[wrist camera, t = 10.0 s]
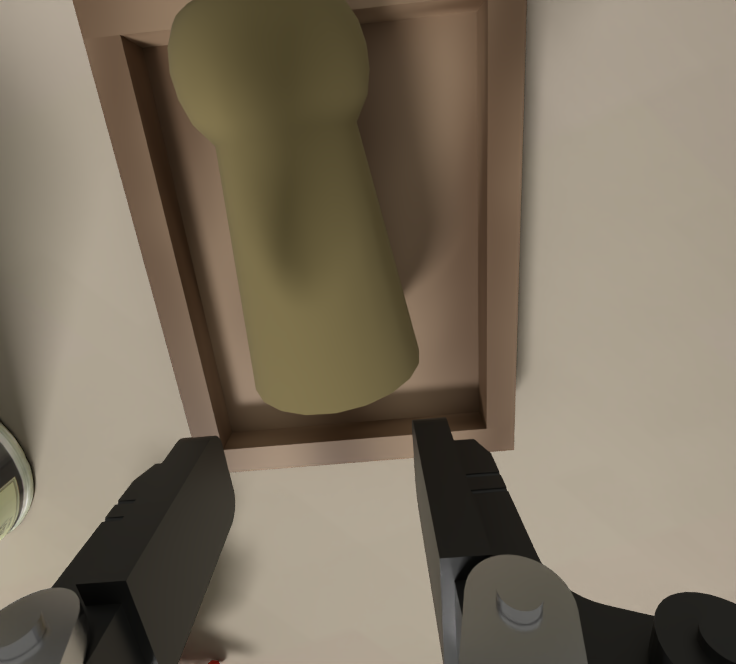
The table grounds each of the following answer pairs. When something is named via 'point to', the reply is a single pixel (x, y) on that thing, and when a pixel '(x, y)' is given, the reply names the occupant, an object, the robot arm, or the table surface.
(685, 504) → the table surface
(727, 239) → the table surface
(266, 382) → the cork
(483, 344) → the walnut tray
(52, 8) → the table surface
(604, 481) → the table surface
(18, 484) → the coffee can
